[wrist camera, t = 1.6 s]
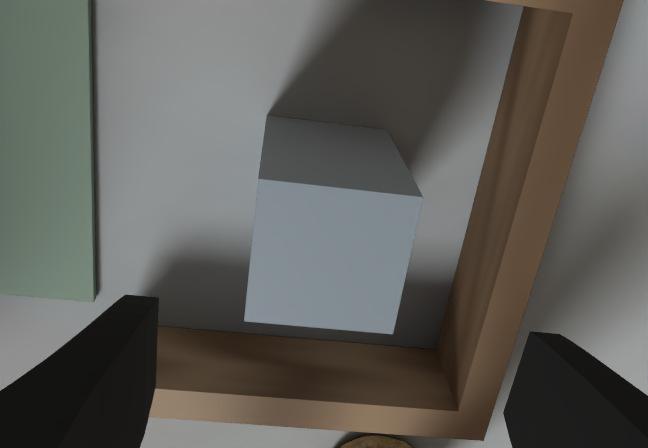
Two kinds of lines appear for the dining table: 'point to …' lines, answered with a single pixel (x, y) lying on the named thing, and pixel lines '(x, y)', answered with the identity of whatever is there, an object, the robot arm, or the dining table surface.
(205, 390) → the walnut stall
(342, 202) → the slate block
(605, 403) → the robot arm
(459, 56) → the dining table surface
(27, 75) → the green mat
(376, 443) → the sprinkles bottle
